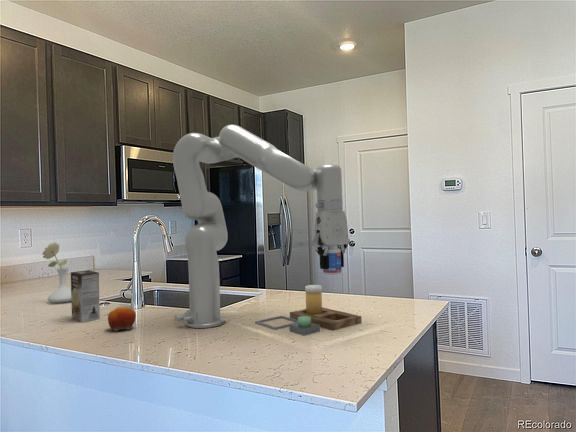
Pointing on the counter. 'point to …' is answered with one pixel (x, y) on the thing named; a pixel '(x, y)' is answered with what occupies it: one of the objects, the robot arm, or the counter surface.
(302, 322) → the button
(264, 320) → the gray square frame
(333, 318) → the wooden bottle holder
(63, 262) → the flower in vase
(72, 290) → the coffee box
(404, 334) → the counter surface
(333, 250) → the pill bottle
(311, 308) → the seated bottle
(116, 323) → the fruit
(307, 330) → the button housing
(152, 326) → the counter surface
